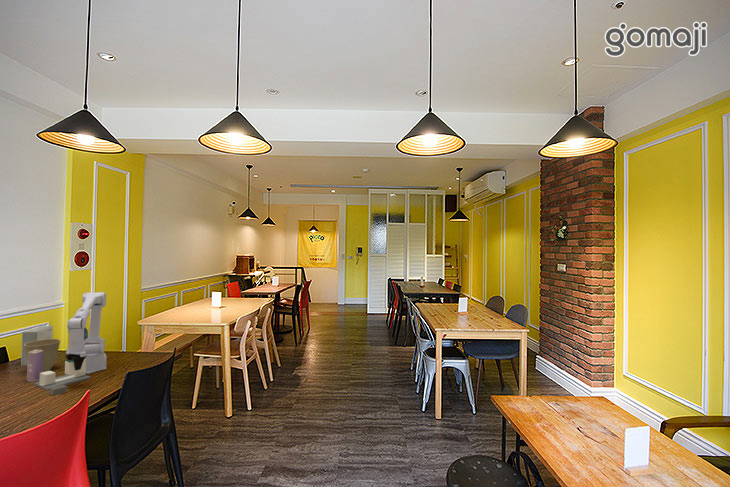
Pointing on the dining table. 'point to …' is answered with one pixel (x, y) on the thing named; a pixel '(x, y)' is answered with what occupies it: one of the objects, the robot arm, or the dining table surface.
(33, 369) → the beverage can
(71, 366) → the block
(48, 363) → the plant pot
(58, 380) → the board
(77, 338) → the robot arm
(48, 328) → the hard drive box
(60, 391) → the block
